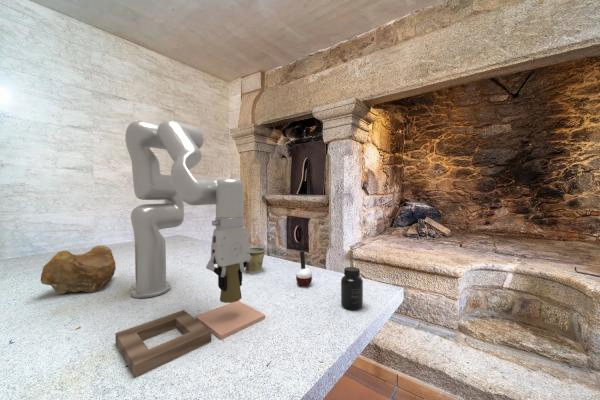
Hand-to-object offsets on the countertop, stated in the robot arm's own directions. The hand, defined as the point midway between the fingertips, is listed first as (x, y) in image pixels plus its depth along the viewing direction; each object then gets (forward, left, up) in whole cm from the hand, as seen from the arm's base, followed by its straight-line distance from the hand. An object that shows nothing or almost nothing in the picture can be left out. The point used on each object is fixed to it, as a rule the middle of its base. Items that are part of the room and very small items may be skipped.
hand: (230, 286), depth 71 cm
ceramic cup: (-30, +31, -10) cm, 44 cm away
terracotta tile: (0, 0, -9) cm, 9 cm away
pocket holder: (-2, -17, -9) cm, 20 cm away
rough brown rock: (-58, -24, -10) cm, 64 cm away
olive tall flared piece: (0, 0, -3) cm, 4 cm away
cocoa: (-2, +34, -10) cm, 35 cm away
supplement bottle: (+21, +31, -10) cm, 39 cm away
